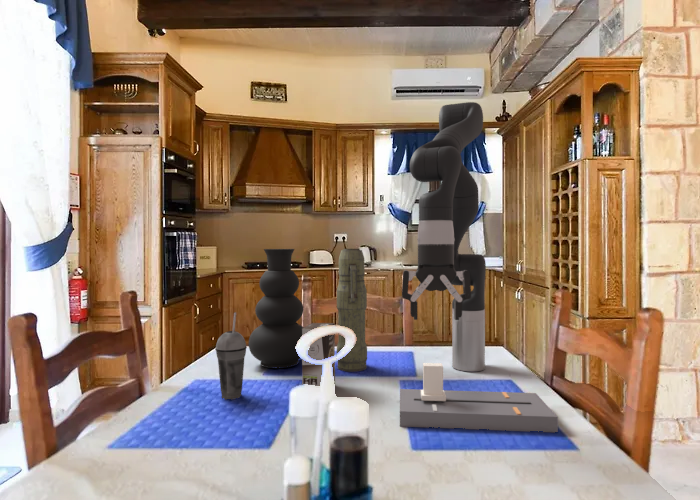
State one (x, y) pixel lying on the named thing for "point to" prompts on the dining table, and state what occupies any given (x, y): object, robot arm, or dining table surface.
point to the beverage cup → (231, 362)
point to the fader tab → (433, 382)
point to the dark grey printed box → (317, 355)
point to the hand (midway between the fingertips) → (435, 319)
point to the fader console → (478, 411)
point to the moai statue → (352, 308)
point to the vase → (277, 313)
